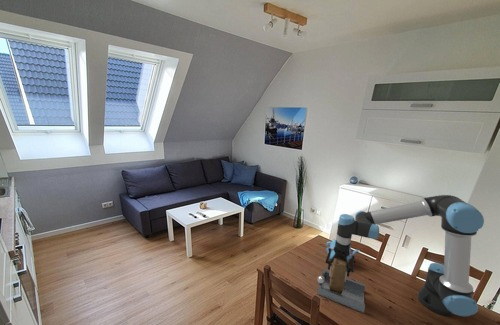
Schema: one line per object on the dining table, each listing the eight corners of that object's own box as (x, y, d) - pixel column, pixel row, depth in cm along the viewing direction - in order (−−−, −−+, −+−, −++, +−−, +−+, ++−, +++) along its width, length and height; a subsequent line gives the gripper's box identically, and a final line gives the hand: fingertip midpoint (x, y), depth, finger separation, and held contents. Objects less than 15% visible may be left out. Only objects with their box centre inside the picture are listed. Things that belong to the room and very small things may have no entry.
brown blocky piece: (342, 297, 117) (347, 265, 113) (327, 291, 120) (332, 260, 116) (343, 284, 126) (348, 254, 122) (330, 279, 129) (334, 250, 125)
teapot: (332, 267, 143) (335, 249, 141) (322, 252, 159) (324, 236, 157) (357, 267, 145) (360, 249, 142) (345, 252, 161) (348, 236, 158)
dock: (363, 291, 124) (366, 276, 122) (363, 313, 109) (366, 297, 107) (320, 274, 135) (322, 261, 133) (315, 293, 120) (317, 278, 118)
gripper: (363, 244, 116) (357, 280, 120) (325, 233, 125) (320, 267, 129) (363, 251, 109) (356, 289, 114) (322, 239, 118) (318, 274, 123)
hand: (337, 277), depth 122 cm, fingers closed on brown blocky piece, 7 cm apart
